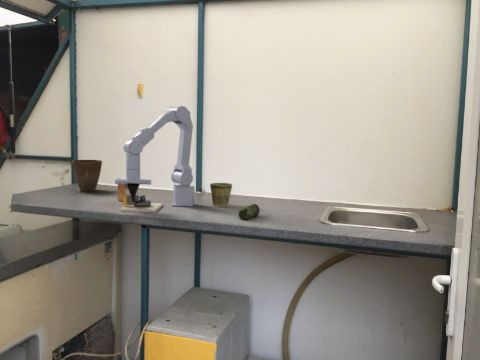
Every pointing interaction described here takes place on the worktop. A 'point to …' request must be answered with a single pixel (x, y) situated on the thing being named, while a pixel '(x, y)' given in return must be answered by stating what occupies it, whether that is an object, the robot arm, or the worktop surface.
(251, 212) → the vegetable
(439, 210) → the worktop surface
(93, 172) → the plant pot
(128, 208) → the console plate
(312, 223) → the worktop surface
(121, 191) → the small box
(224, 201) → the ceramic cup
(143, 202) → the lever door handle
